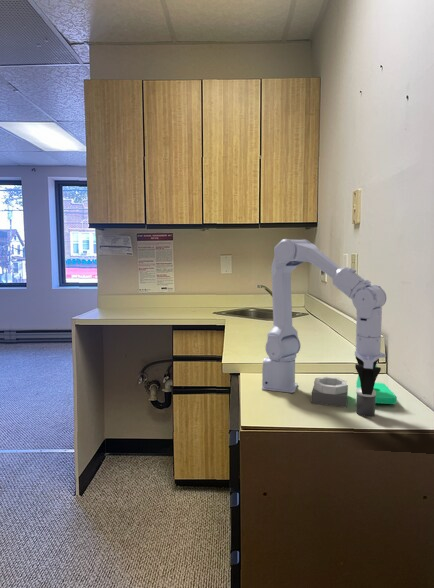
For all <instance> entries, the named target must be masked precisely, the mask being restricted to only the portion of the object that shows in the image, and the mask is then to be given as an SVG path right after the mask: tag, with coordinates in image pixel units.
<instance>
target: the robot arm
mask: <svg viewBox="0 0 434 588" xmlns="http://www.w3.org/2000/svg"><path fill="white" fill-rule="evenodd" d="M273 249H274V250H273V252H274V257H273V261H272V262H271V263H272V264H271V268H270V269H271V291H272V297H271V298H272V320H273V321H272V322H273V327H272V328H271V329H270V331H268V333H267V339H266V343H265V347H264V348H265V352H266V355H267V356H265V357H264V358H263V362H262V368H261V369H262V371H261V372H262V376H261V377H262V380H261V381H262V383H261V389H262V390H263V391H264V390H265V391H273V392H282V393H289V394H294V393H295V392H296V389H297V387H298V382H296V359H297V354H298V353H299V352H300V351H301V341H300V338H299V335H298V330H297V329H296V327H294V326H293V311H292V309H293V308H292V307H293V306H292V305H293V302H292V277H291V276H292V274H291V273H292V272H293V271H294V270H295V269H296V268H297V267H298V266H299V265H301V264H304V263H305V262H306V263H310V264H311V265H312V266H315V267H316V268H317V269H318V270H320V271H321V272H323V273H325V274H326V275H327V276H328V277H330V278H331V279H332V285H333V286H334V287H335V288H336V289H338V290H339V291H340V292H341V293H343V294H344V295H345V296H347V297H348V298H349V299H350V300H351V301H352V304H353V306H354V308H355V309H356V325H355V327H356V328H355V332H356V333H355V351H354V356H355V359H356V362H357V363H355V366H354V368H355V371H356V372H357V376H358V375H359V378H360V383H361V390H362V394H366V395H372V392H373V388H374V384H375V383H376V380H377V378H378V376H379V374H380V372H381V371H382V369H381V368H382V367H381V366H380V367H378V366H377V364H378V362H379V360H380V359H381V358H383V359H384V358H386V356H387V355H386V353H385V352H381V349H382V348H381V347H382V346H381V344H382V343H381V342H382V313H383V307H384V305H385V304H386V302H387V293H386V292H385V290H384V289H383V288H382V287H381V286H380V285H376V284H374V285H371V283H372V282H371V281H370V280H368V279H367V280H366V279H365V278H363V277H362V276H360V275H358V274H357V273H356V272H357V270H356V269H355V268H353V267H350V268H349V267H341V266H339V264H337V263H336V262H334V260H332V259H331V258H330V257H328V256H327V255H326V254H325V253H324V252H323V251H321V250H320V249H319V248H318V247H317V245H316V244H314V243H312V242H310V241H309V240H308V239H305V238H304V239H289V238H283V239H281V240H280V241H279V242H278V243H277V244H276V245H275V246H274V248H273ZM375 366H377V367H375Z"/></svg>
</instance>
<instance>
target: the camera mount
mask: <svg viewBox="0 0 434 588" xmlns="http://www.w3.org/2000/svg"><path fill="white" fill-rule="evenodd" d="M375 367H378V366H377V365H376V366H375ZM355 388H356V389H357V388H361V383H360V378H359V375H358V374H357V379H356V387H355ZM373 389H374V390H375V391H376V398H375V404H385V405H386V404H390V405H394V404H395V405H396V404H397V401H398V400H397V397H398V396H397V395H395V394H394V392H393V391H392V390H391V389H390V388H389V387H388V386H387V385H386V384H385V383H383V382H375V384H374V388H373Z"/></svg>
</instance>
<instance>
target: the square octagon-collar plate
mask: <svg viewBox="0 0 434 588" xmlns="http://www.w3.org/2000/svg"><path fill="white" fill-rule="evenodd" d="M347 384H348V383H347V380H345V379H342V378H340V377H336V376H320V377H316V378H315V379H314V382H313V386H312V387H313V388H312V390H311V404H316V405H323V406H324V405H325V406H332V407H341V408H347V407H348V396H349V395H348V394H349V393H348V391H349V385H347Z"/></svg>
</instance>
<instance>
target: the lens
mask: <svg viewBox="0 0 434 588" xmlns="http://www.w3.org/2000/svg"><path fill="white" fill-rule="evenodd" d="M355 392H356V404H355V406H356V408H355V409H356V410H355V413H356V415H358V416H360V417H363V418H373V417H375V415H376V403H375V398H376V391H375V390H374V389H373V392H372V395H366V394H362V390H361V388H357V387H356V391H355Z"/></svg>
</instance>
